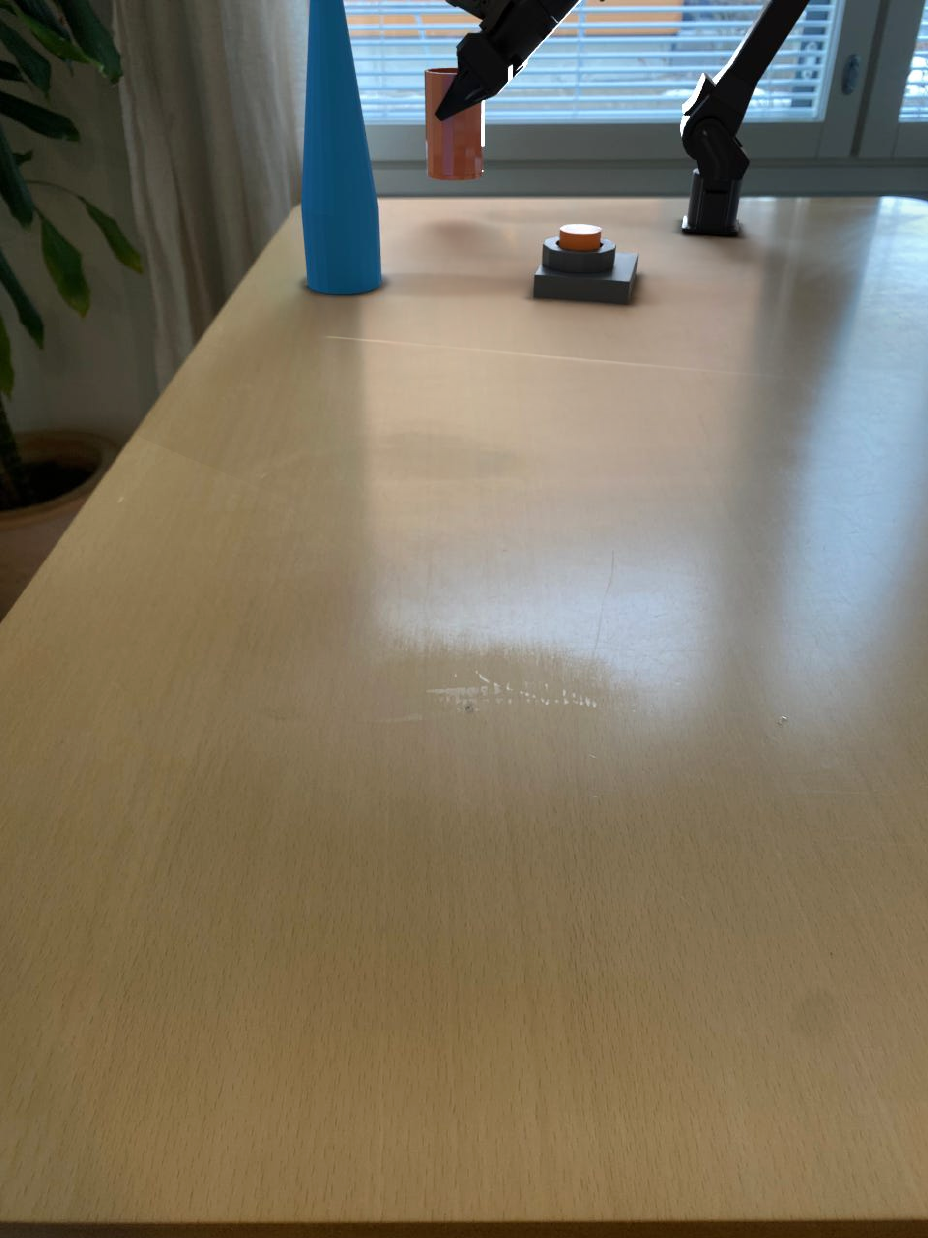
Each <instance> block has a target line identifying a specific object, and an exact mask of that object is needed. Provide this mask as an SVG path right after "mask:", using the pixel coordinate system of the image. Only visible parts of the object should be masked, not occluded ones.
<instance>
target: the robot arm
mask: <svg viewBox="0 0 928 1238" xmlns="http://www.w3.org/2000/svg"><path fill="white" fill-rule="evenodd" d="M444 1H445V3H447V4H448V5H450V6H452V7H453V8H457V7H458V8H459V9H461V10H463V12H464V11H465V12H466V13H468V14H469V15H471V16H473V17H475V18H476V19H478V20H481V22H480V23H479V24H478V27H479V29H481V30H479V29H475V30H471V31H468V32H467V33H466V34H465V36H463V38H462V39H461V40H460V41H459V42H458V43H457V45H456V46H455V48H456V53H455V55H456V59H457V67H458V72H457V74H456V76H455V78H454V80H453V82H452V83H451V85H450V87H449V89H448V90H447V92H446V94H445V96H444V98H443V99H442V101H441V103H440V105H439V107H438V108H437V110H436V112H435V116H436V117H437V118H438V119H439V121H443V120H445V119H447V118H449V117H452V116H454V115H456V114H458V113H460V112H462V111H464V110H466V109H468V108H470V107H472V106H474V105H476V104H479V103H481V102H483V101H485V102H486V101H487V100H489V99H491V98H494V97H495V96H497V95H498V94H499V93H500V92H501V91H502V90H503V89H504V88H505V87H506V86H507V85H508V84H509V83H510V82H511V80H514V79H515V78H516V77H517V76H518V75H519V74H520V73H521V72H522V71H523V69H524V68H525V67H526V66H527V65H528V60H529V58H530V57H531V56H532V55H533V54H534V53H535V52H536V50H538V49H539V47H540V46H541V45H542V44H543V43H544V42H545V41H546V39H548V38H549V37H550V36H551V34H552V33H553V32H554V31H555V29H556V28H558V27H559V25H560V24H561V23H562V22H563V21H564V20H565V19H566V18H567V16H569V14H570V13H571V12H573V10H574V9H575V8H576V6H577V5H578V4H579V3H580V2H581V1H582V0H444ZM598 1H599V2H600V3H603V2H605V1H606V0H598ZM810 2H811V0H766V1H765V2H764V4H763V5H762V7H761V9H760V10H759V12H758V13H757V15H756V16H755V18H754V20H753V21H752V23H751V25H750V26H749V28H748V30H747V32H746V33H745V35H744V37H743V38H742V39H741V41H740V43H739V44H738V46H737V48H736V49H735V51H734V52H733V54H732V56H731V58H730V59H729V61H728V62H727V63H726V64H725V66H724V67H723V68H722V69H721V70H720V71H719V72H718V73H717V75H715V77H714V78H711V77H710V76H709V75H708V74H707V73H706V72H702V74H701V76H700V78H699V80H698V82H697V85H696V87H695V90H694V91H693V93H692V95H691V96H690V98H689V99H688V100H687V101H686V102H685V103H683V104H682V106H681V107H682V113H683V116H682V119H681V122H680V134H681V141H682V146H683V149H684V150H685V153H686V154H687V155H688V156H689V157H690V158H691V159H692V160H695V161H696V164H697V165H696V166H697V168H695V169H694V170H693V173H692V179H691V180H692V181H691V185H690V187H691V188H690V193H689V201H688V208H687V209H688V210H687V214H686V215H684V216H683V221H682V226H681V232H683V233H693V234H705V235H706V234H709V235H722V236H724V235H725V236H738V235H739V232H740V220H739V219H738V218H737V217H738V211H739V206H740V205H739V204H740V199H741V193H742V187H743V182H744V181H743V180H744V176H745V174H746V172H747V171H748V168H749V166H750V164H751V160H750V158H749V155H748V152H747V150H746V148H745V147H744V145H743V144H742V142H741V141H740V140H739V138H738V137H737V134H738V132H739V130H740V128H741V126H742V123H743V121H744V119H745V116H746V113H747V112H748V109H749V105H750V103H751V100H752V98H753V96H754V92H755V90H756V87H757V86H758V83H759V82H760V80H761V78H762V77H763V76H764V74H765V73H766V71H767V69H768V68H769V66H770V64H771V63H772V61H773V60H774V58H775V57H776V55H777V54H778V52H779V50H781V48H782V46H783V44H784V43H785V41H786V40H787V38H788V36H789V35H790V34H791V31H792V30H793V29H794V27H795V26H796V24H797V23H798V20H799V19H800V17H801V16H802V15H803V13H804V11H805V10H806V8H807V6H808V5H809V3H810Z"/></svg>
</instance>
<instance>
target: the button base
mask: <svg viewBox="0 0 928 1238" xmlns="http://www.w3.org/2000/svg"><path fill="white" fill-rule="evenodd" d="M616 248H617V244H616V243H615V242H614V241H613V240H610V239H608V238H604V237H601V242H600V248H598V249H595V250H569V249H565V248H561V247H559V235H557V236H552V237H550V238H547V239H545V240H544V242H543V244H542V253H541V263H540V265H539V266H538V268H537V270H536V271H535V273H534V277H533V279H534V280H533V293H532V294H533V298H534V299H547V300H558V301H559V300H560V301H571V302H572V301H573V302H583V303H584V302H586V303H598V304H610V305H611V304H613V305H621V306H623V305H624V306H628V304H629V302H630V298H631V295H632V292H633V287H634V285H635V282H636V277H637V271H638V263H639V253H633V252H618V251H616V250H617V249H616Z"/></svg>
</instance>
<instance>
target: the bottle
mask: <svg viewBox="0 0 928 1238" xmlns="http://www.w3.org/2000/svg"><path fill="white" fill-rule="evenodd" d="M308 7H309V8H308V10H309V11H308V32H307V33H308V35H307V55H306V57H307V58H306V77H305V78H306V82H305V102H304V103H305V104H304V127H303V128H304V130H303V152H302V153H303V154H302V172H301V173H302V176H301V196H300V197H301V200H300V201H301V202H300V212H301V223H302V224H301V225H302V235H303V247H304V259H305V267H306V268H305V269H306V280H307V282H306V283H307V287H308V288H309V289H310V290H312V291H315V292H318V293H323V294H327V295H357V294H363V293H367V292H371V291H375V290H376V289H377V288H379V287H380V286H381V285H382V283H383V282H382V281H383V279H382V262H381V261H382V257H381V238H380V237H381V236H380V234H381V233H380V211H379V210H380V209H379V202H378V197H377V191H376V184H375V178H374V174H373V172H374V171H373V166H372V159H371V155H370V150H369V149H370V147H369V143H368V138H367V132H366V125H365V120H364V114H363V108H362V103H361V102H362V101H361V96H360V90H359V84H358V79H357V73H356V66H355V61H354V55H353V49H352V44H351V37H350V31H349V25H348V20H347V15H346V14H347V13H346V8H345V2H344V0H309V6H308Z"/></svg>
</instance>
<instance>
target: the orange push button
mask: <svg viewBox="0 0 928 1238" xmlns="http://www.w3.org/2000/svg"><path fill="white" fill-rule="evenodd" d="M558 236H559V247H561V248H565V249H569V250H595V249H598V248H600V242H601V238H602V228H600V227H598V226H596V225H592V224H585V223H583V224H581V223H575V224H574V223H573V224H565V225H563V226H561V227H559V235H558Z"/></svg>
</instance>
